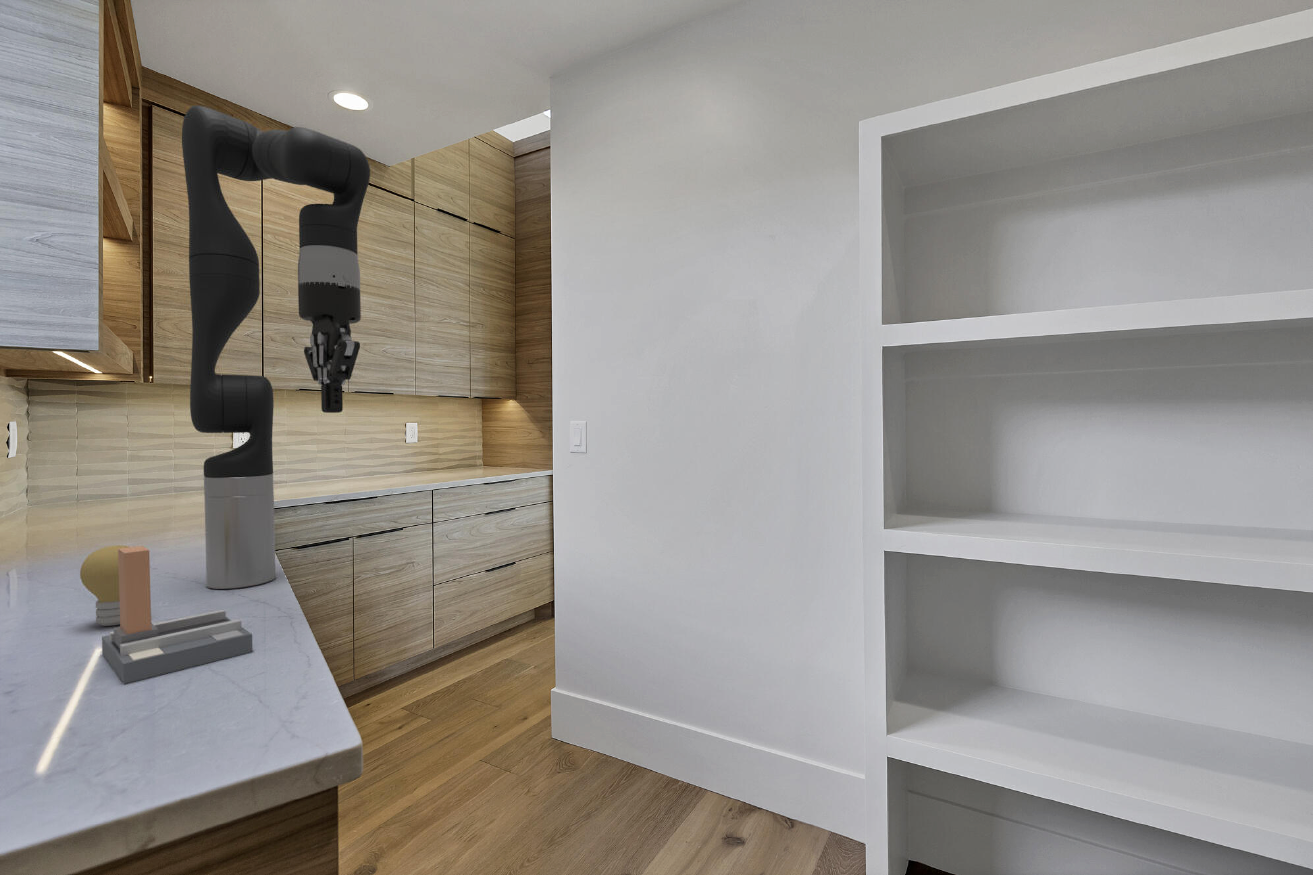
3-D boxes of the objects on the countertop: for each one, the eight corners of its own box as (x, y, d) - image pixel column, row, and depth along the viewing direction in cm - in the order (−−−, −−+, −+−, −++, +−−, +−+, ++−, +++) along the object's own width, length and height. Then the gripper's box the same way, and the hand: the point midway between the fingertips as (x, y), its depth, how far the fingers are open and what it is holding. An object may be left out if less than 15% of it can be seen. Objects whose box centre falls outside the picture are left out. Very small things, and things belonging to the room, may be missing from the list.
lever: (114, 641, 66) (111, 549, 66) (149, 634, 68) (147, 544, 68) (121, 650, 63) (118, 554, 63) (158, 642, 66) (155, 549, 65)
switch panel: (102, 654, 68) (101, 627, 68) (220, 628, 77) (219, 604, 76) (123, 683, 60) (123, 653, 60) (252, 651, 69) (251, 625, 69)
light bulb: (88, 635, 74) (85, 553, 74) (76, 625, 78) (74, 547, 78) (154, 621, 79) (152, 544, 79) (140, 612, 83) (138, 539, 83)
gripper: (281, 288, 85) (284, 413, 86) (320, 273, 77) (323, 411, 77) (337, 296, 91) (340, 413, 92) (379, 283, 83) (381, 412, 83)
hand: (332, 412), depth 84 cm, fingers closed
